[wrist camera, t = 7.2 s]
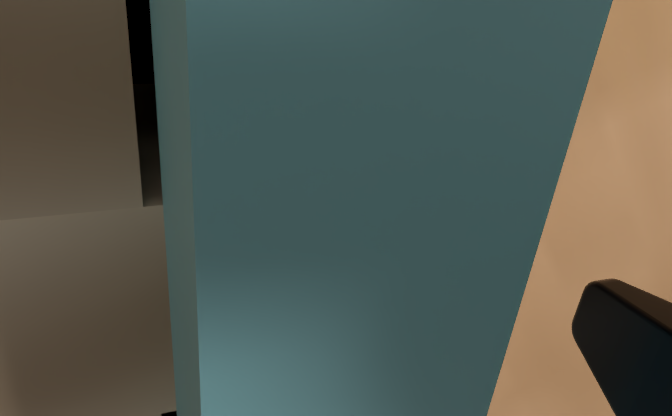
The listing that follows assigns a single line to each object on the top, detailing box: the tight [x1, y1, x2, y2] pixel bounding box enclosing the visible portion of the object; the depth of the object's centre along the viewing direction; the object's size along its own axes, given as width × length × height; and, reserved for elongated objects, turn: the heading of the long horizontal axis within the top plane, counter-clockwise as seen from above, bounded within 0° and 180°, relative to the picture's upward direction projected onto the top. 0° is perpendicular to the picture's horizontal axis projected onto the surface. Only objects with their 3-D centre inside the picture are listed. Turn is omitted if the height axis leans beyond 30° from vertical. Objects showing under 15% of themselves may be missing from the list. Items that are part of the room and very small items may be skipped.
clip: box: [149, 0, 613, 416], centre depth 9 cm, size 13×3×6 cm, turn 174°
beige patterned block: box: [0, 0, 177, 416], centre depth 11 cm, size 18×8×4 cm, turn 174°
